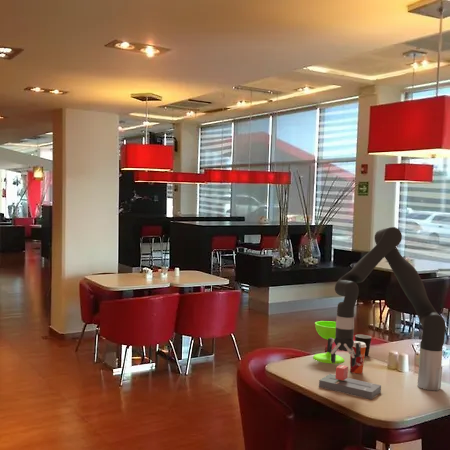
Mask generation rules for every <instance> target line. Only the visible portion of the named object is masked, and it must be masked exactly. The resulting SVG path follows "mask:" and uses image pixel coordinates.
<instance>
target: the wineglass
mask: <svg viewBox="0 0 450 450" xmlns="http://www.w3.org/2000/svg"><path fill="white" fill-rule="evenodd" d="M314 326H315V330H316V333H317V334H318V336H320V337H321V338H322V339H324V340H327V341H328V339H329V338H333V339H335V335H336V321H331V320H330V321H329V320H320V321H319V320H318V321H315V322H314ZM312 359H313V360H314V359H315V360H314V361H316V360H317V361H316V362H320V363H323V364H339V365H340V364H343V363H345V361H346V360H345V358H343V356H340V355H338V354H336V359H335V363H332V361H331V353H330V352H327V351H326V353H324V352H321V353H315V354H314V355H313V357H312Z"/></svg>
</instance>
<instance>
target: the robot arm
mask: <svg viewBox="0 0 450 450" xmlns="http://www.w3.org/2000/svg"><path fill="white" fill-rule="evenodd" d="M402 240H403V235H402V232H401V230H400V229H399V228H397V227H396V226H395V227H394V226H388V227H385V228H381V229H379V230H377V231H376V233H375V234H374V242H375V244H376V245H375V246H374V247H373V248H372V249H371V250H370V251H368V252H367V253H366V254H365V255H364V256H363V257H361V258H360V259H359V260H358V261H357V263H355V265H354V266H353V267H352V269H350V271H348V272H346V273H345V274H344V275H342V276H341V277H340V278H339V279H338V280H337V281H336V283H335V285H334V291H335V293H336V294H337V295H338V296H340V297H344V298H343V300H342V301H341V302H338V304H337V308H336V309H337V310H336V318H335V319H336V320H335V322H336V335H335V339H333V338H329V339H328V340H327V347H326V353H327V352H330V353H331V361H332V363H335V359H336V355H337V354H336V353H337V351H338V350H339V351H344V352H348V354H350V355H351V356H352V358H351V366H352V367H353V366H354V365H355V364H356V357H359V356H361V343H360V342H358V343H356V342H354V341H355V340H354V336H355V335H354V334H355V333H354V332H355V319H354V318H355V317H354V316H355V306H356V303H357V300H358V298H359V291H360V290H359V285H358V284H361V283H363V282H364V281H365V280H366V279H367V278H368V276H370V274H371V273H372V271H373V270H374V269H375V268H376V266H378V264H379V263H380V262H381V261H382V260H383V259H384V258H385V260H386V261H387V263H388V265H389V267H390V269H391V270H392V272H393V274H394V276H395V278H396V280H397V282H398V283H399V286H400V288H401V289H402V291H403V292H404V294H405V296H406V297H407V299H408V300H409V302H410V303H411V305H412V306H413V308H414V310H415V313H416V316H417V318H418V321H419V322H420V325H421V327H422V338H421V341H420V343H419V344H420V345H419V359H418V360H419V361H418V371H417V372H418V373H417V387H418V388H419V389H422V388H423V390H426V389H427V390H426V391H435V390H437V391H436V392H438V391H440V389H441V388H442V377H443V376H442V375H443V374H442V373H443V366H442V360H443V359H442V358H443V346H444V344H445V337H446V320H445V319H444V317H443V316H442V315H440V314H439V313H438V312H437V311H436V309H435V308H434V306H433V305H432V303H431V301H430V300H429V297H428V295H427V294H428V293H427V291H426V288H425V284H424V282H423V280H422V278H421V276H420V275H419V273H418V271H417V269H416V268H415V267H414V266H413V265H412V264H411V263H410V262H409V261H408V260H407V259H406V258H404V257H403V256H402V253H400V251H399V249H398V247H397V246H399V245H400V243H401V242H402ZM333 344H335V347H334V348H333ZM353 345H354V346H355V348H356V354H355V352H354V349H353V348H352V346H353Z"/></svg>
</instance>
